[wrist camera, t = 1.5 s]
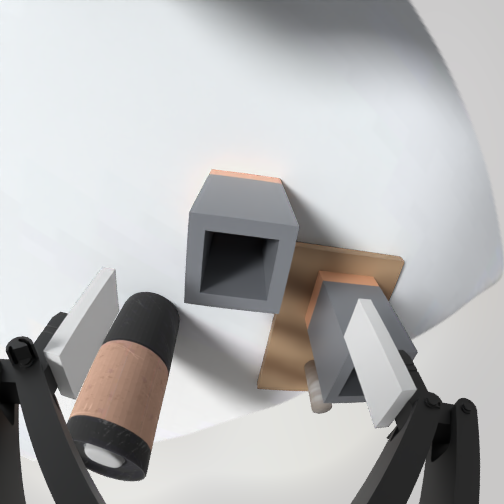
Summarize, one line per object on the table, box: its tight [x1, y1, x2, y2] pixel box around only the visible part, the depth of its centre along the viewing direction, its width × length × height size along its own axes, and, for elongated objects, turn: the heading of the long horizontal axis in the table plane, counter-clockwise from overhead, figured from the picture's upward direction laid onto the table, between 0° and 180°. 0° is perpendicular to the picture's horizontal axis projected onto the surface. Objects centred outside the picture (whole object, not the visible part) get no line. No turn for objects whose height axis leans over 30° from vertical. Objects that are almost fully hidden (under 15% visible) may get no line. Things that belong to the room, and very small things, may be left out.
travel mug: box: [67, 292, 179, 481], centre depth 27 cm, size 8×8×20 cm
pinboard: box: [257, 242, 404, 414], centre depth 33 cm, size 22×13×8 cm, turn 172°
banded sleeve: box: [184, 169, 299, 314], centre depth 25 cm, size 6×6×12 cm
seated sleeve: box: [305, 270, 417, 403], centre depth 28 cm, size 6×6×12 cm
